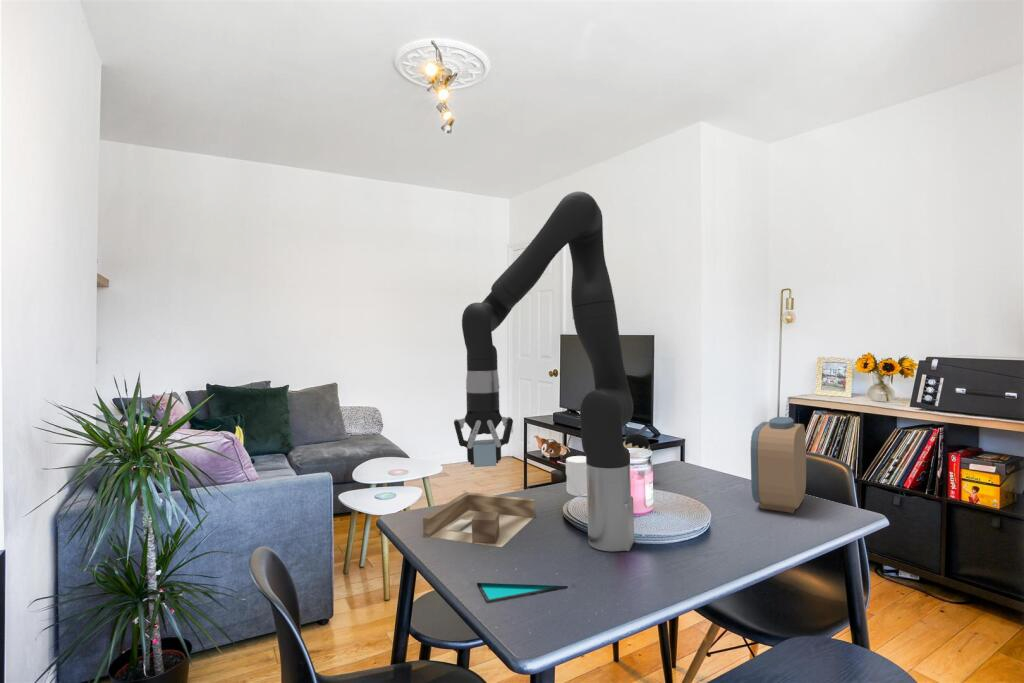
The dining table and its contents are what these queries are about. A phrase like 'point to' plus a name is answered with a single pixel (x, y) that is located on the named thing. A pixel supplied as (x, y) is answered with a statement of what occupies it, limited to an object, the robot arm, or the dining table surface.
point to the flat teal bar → (512, 590)
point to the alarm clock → (778, 464)
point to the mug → (576, 475)
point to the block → (484, 453)
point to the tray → (459, 512)
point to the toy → (636, 442)
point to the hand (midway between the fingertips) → (484, 462)
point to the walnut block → (485, 527)
